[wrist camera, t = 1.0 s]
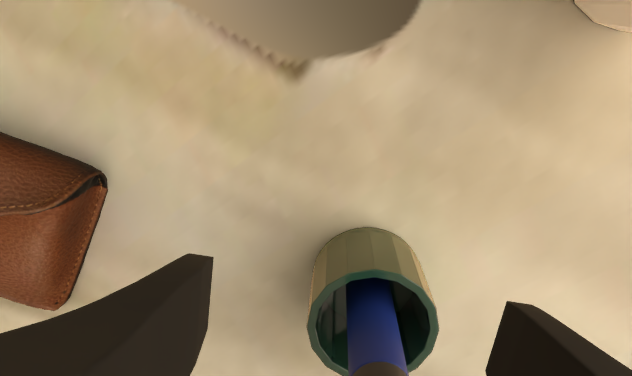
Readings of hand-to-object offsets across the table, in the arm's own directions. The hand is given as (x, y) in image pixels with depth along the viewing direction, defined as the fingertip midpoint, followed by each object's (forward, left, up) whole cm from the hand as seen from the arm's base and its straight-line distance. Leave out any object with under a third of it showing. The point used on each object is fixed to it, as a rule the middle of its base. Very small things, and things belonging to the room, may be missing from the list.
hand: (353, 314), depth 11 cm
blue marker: (-4, +2, -10) cm, 11 cm away
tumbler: (-4, +2, -10) cm, 11 cm away
